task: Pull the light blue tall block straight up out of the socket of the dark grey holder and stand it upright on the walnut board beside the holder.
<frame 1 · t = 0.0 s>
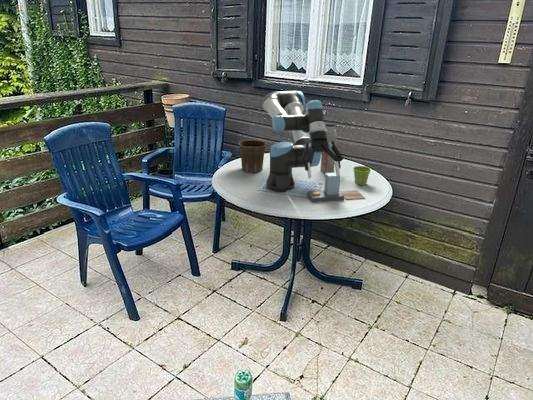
hand: (324, 176, 180), 15 cm above the table, tool tilted 35°, fingers open, 13 cm apart
walnut board: (351, 196, 198), on the table
thermos bottle: (327, 171, 234), on the table
light blue tall block: (331, 197, 195), point 1 cm above the table, touching dark grey holder
plant pot 2: (360, 184, 215), on the table
dark grey holder: (325, 199, 195), on the table
plant pot: (252, 169, 235), on the table
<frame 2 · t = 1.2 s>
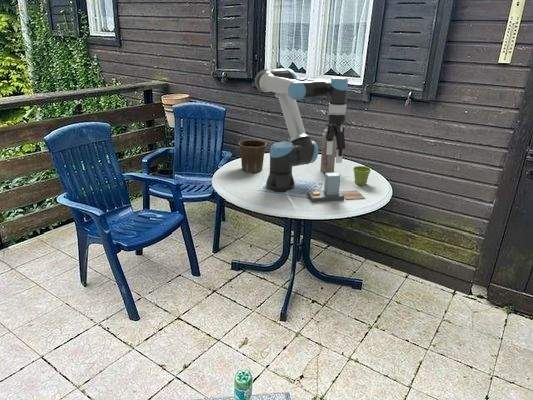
hand: (333, 158, 187), 21 cm above the table, tool pointing down, fingers open, 13 cm apart
nothing on the table moved.
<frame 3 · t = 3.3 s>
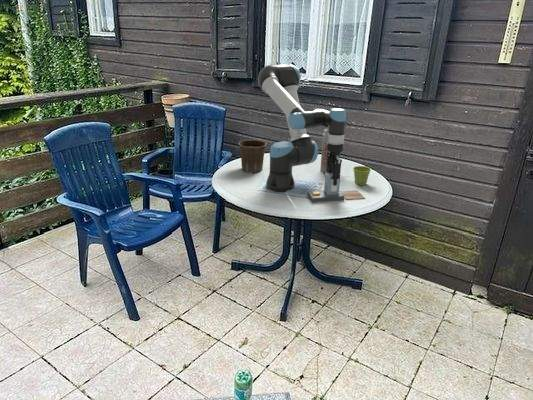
hand: (331, 189, 193), 5 cm above the table, tool pointing down, fingers closed on light blue tall block, 4 cm apart
light blue tall block: (331, 197, 195), point 1 cm above the table, touching gripper, dark grey holder
everything else where it was.
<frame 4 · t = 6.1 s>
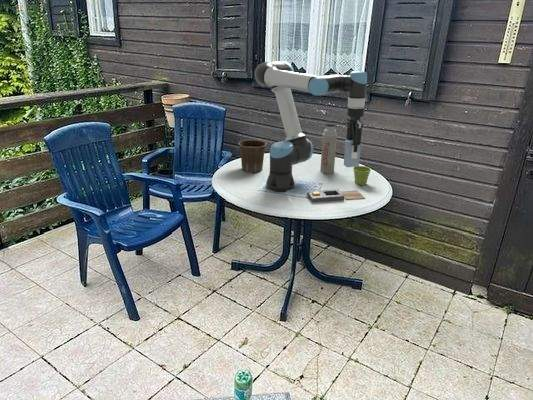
hand: (351, 156, 188), 21 cm above the table, tool pointing down, fingers closed on light blue tall block, 4 cm apart
light blue tall block: (351, 165, 190), point 17 cm above the table, touching gripper
everything else where it was.
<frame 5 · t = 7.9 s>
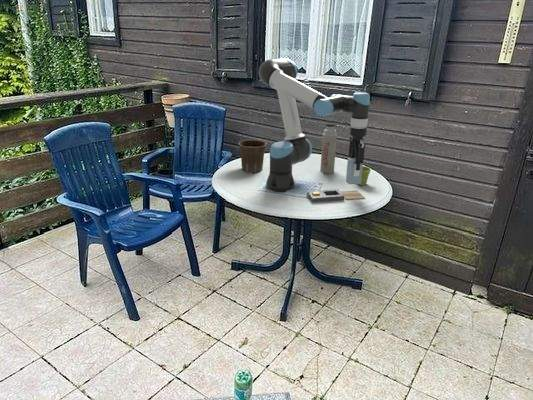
hand: (354, 174, 193), 12 cm above the table, tool pointing down, fingers closed on light blue tall block, 4 cm apart
light blue tall block: (353, 182, 195), point 8 cm above the table, touching gripper
everything else where it was.
when the fingers open (7 cm above the table, at t = 9.1 s): light blue tall block drops 2 cm, resting on walnut board.
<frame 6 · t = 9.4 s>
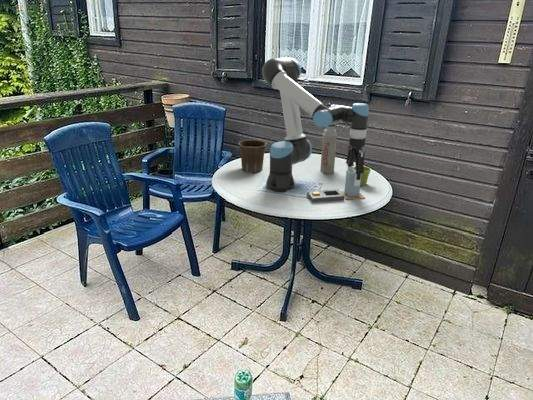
hand: (352, 182, 195), 8 cm above the table, tool pointing down, fingers open, 8 cm apart
light blue tall block: (351, 194, 197), point 1 cm above the table, touching walnut board
everything else where it was.
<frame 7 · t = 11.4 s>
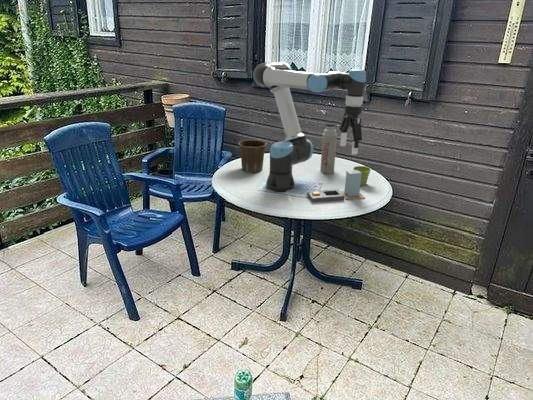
hand: (348, 149, 189), 24 cm above the table, tool pointing down, fingers open, 13 cm apart
nothing on the table moved.
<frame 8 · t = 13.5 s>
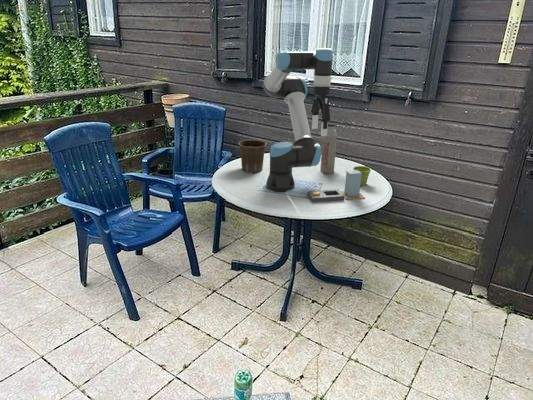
hand: (319, 132, 185), 33 cm above the table, tool pointing down, fingers open, 13 cm apart
nothing on the table moved.
at the end: light blue tall block 0.0 cm off-centre on the walnut board, point 1.2 cm above the walnut board's base; light blue tall block tilted 0°; the gripper is holding nothing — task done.
